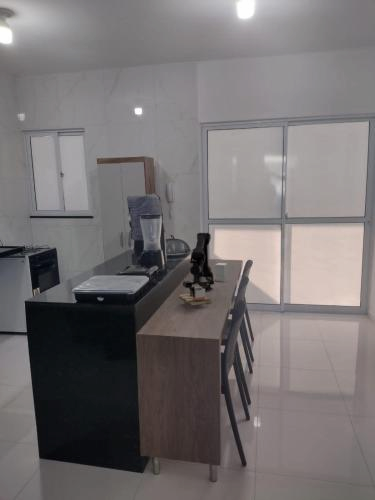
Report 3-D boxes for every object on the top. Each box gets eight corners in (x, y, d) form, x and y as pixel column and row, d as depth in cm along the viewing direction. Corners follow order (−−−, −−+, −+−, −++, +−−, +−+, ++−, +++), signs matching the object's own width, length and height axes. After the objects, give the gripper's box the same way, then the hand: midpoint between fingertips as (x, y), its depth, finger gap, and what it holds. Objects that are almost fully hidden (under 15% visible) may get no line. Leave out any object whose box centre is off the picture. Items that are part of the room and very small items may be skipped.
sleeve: (192, 297, 227) (192, 288, 226) (201, 296, 230) (200, 286, 229) (196, 300, 222) (196, 290, 221) (205, 298, 224) (205, 289, 223)
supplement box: (228, 279, 278) (228, 263, 276) (224, 282, 272) (224, 265, 270) (219, 278, 282) (219, 262, 280) (215, 281, 276) (214, 264, 273)
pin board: (179, 296, 237) (179, 288, 236) (198, 294, 242) (197, 285, 241) (192, 305, 219) (192, 296, 218) (211, 302, 224) (211, 293, 223)
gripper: (189, 276, 212) (189, 302, 215) (218, 272, 219) (218, 298, 222) (181, 272, 222) (182, 297, 225) (209, 269, 229) (210, 293, 232)
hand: (198, 296), depth 226 cm, fingers closed on sleeve, 6 cm apart
